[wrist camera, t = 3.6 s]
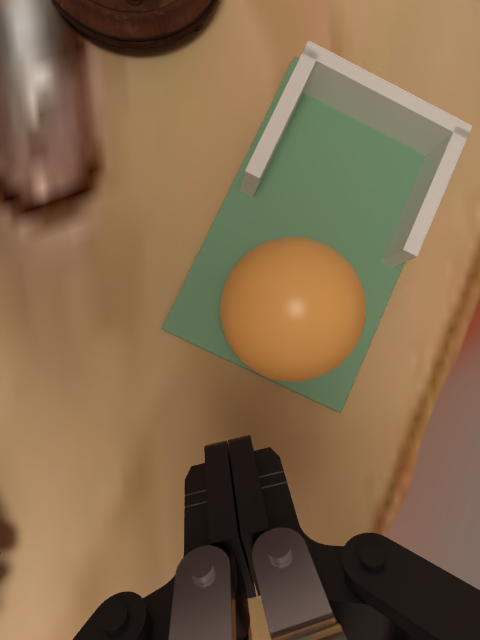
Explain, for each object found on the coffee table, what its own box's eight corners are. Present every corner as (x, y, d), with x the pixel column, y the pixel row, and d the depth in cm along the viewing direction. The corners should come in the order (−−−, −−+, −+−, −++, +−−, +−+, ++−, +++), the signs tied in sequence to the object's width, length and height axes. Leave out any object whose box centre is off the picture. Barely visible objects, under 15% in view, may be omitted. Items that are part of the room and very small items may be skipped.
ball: (307, 397, 34) (353, 416, 24) (195, 345, 34) (195, 342, 24) (355, 287, 35) (418, 262, 25) (248, 234, 35) (268, 188, 25)
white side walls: (392, 267, 36) (417, 256, 32) (239, 191, 35) (244, 170, 31) (442, 150, 37) (472, 125, 33) (296, 74, 36) (308, 40, 32)
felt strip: (339, 412, 35) (340, 412, 34) (161, 329, 34) (161, 329, 33) (453, 142, 38) (456, 140, 37) (293, 59, 37) (294, 56, 36)
